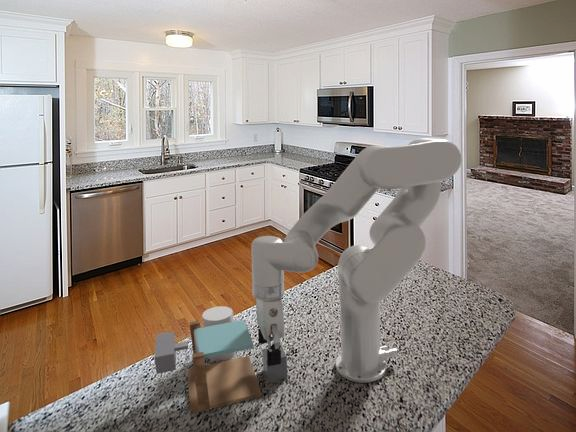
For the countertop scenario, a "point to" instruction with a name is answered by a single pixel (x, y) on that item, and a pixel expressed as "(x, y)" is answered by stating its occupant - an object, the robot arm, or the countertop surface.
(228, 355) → the cup
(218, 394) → the frame
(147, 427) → the countertop surface
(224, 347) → the trapdoor
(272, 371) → the grey block
